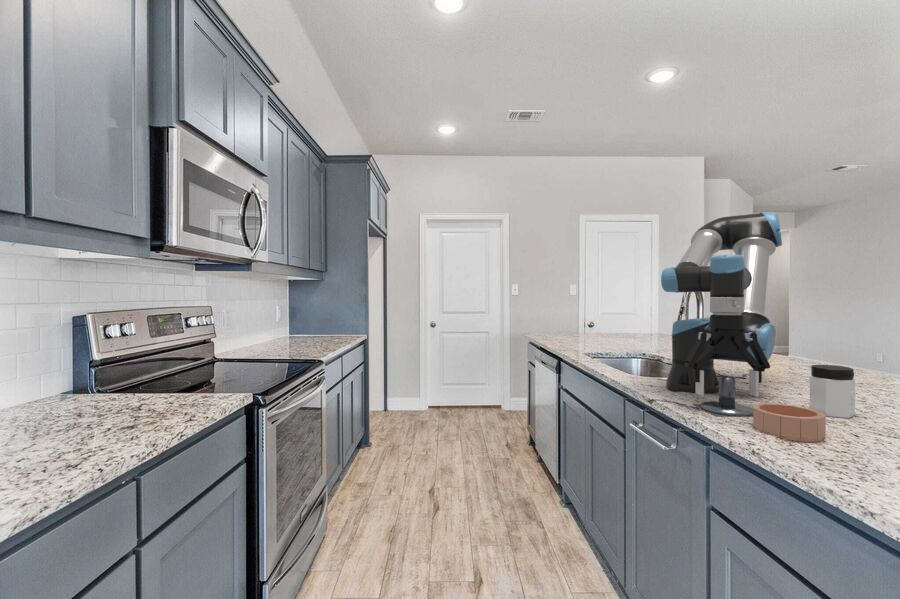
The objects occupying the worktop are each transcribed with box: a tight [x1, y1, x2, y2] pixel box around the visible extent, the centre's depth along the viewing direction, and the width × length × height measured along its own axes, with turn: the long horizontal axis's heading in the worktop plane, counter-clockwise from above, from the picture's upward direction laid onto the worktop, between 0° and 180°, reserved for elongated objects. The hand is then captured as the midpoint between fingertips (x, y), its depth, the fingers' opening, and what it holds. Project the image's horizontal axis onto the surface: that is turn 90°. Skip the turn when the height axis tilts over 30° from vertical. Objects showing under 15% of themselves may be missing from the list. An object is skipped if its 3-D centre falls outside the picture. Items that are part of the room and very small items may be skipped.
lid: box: [700, 374, 753, 418], centre depth 110 cm, size 12×12×9 cm
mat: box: [691, 403, 753, 418], centre depth 110 cm, size 12×12×1 cm
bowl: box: [752, 402, 827, 443], centre depth 94 cm, size 12×12×5 cm
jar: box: [809, 364, 856, 419], centre depth 108 cm, size 9×8×12 cm
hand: (726, 395), depth 110 cm, fingers open, 13 cm apart
